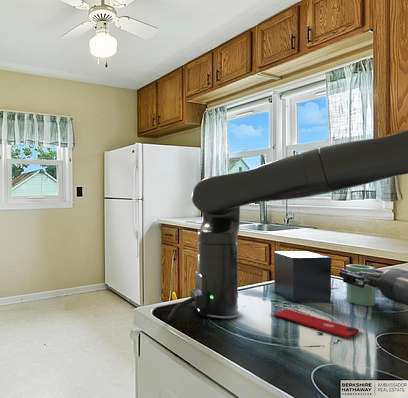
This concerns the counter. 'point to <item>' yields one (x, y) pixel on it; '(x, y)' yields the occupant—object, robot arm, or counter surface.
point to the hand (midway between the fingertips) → (356, 272)
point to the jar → (360, 294)
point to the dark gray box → (302, 276)
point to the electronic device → (317, 323)
